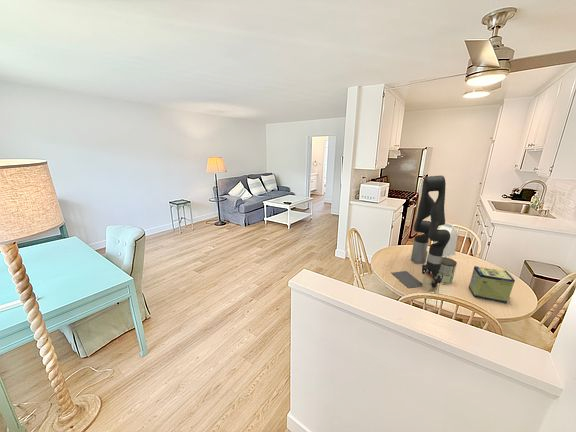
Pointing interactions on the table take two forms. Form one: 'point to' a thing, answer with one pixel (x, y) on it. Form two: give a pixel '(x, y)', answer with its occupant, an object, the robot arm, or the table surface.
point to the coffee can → (447, 270)
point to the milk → (452, 242)
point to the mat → (407, 279)
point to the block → (428, 282)
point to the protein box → (491, 284)
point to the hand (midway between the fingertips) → (429, 284)
